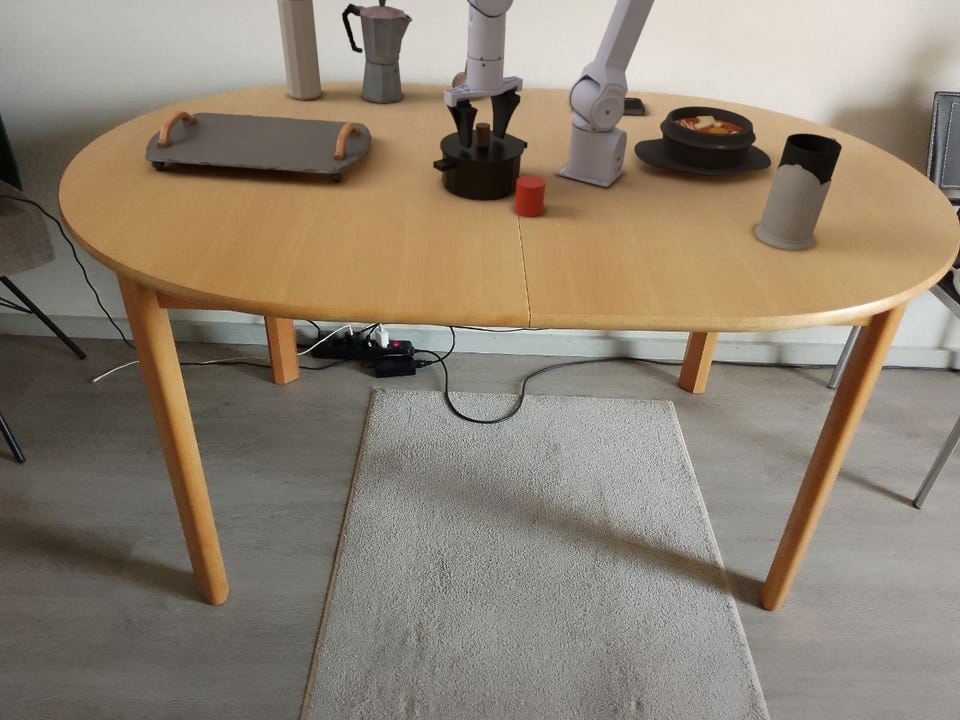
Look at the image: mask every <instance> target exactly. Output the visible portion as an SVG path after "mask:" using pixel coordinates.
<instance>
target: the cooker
mask: <svg viewBox="0 0 960 720" xmlns="http://www.w3.org/2000/svg"><path fill="white" fill-rule="evenodd" d="M517 138H518V139H519V140H521V141H522V142H523V144H524V150H525V149H528V145H529V143H528V141H526V140H523V139H521V138H519V137H517ZM441 152H442V151H441ZM441 154H442V158H441V159H437V160H434V161H432V167H433V168H434V169H435V170H438V171H439V172H441V180H442V185H443V188H444V189H445V190H446V191H448V193H450V194H452V195H454V196H457V197H459V198H463V199H468V200H475V201H492V200H500V199H504V198H507V197H509V196H511V195H514V194H515V193H516V180H517V179H518V178H519V177H521V176H520V175H521V174H520V173H521V163H522V155H521V156H520V157H518V158H517V159H515V160H512V161H509V162H505V163H499V164H473V163H466V162H462V161H458V160H455V159H453V158H450V157H448V156H447V155H445V154H444V153H443V152H442V153H441Z"/></svg>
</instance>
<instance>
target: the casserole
mask: <svg viewBox="0 0 960 720" xmlns="http://www.w3.org/2000/svg"><path fill="white" fill-rule="evenodd" d="M659 129H660V131H661V133H662V137H661V138H655V139H646V140H641V141H638V142H637V143H636V144H635V145H634V148H633V151H634V153H635V155H636V156H637V158H639V159H640V160H641V161H643V162H644V163H645V164H648V166H649V165H650V166H652V167H657V168H662V169H669V170H676V171H680V172H684V173H687V174H691V175H694V176H695V175H696V176H702V177H704V176H705V177H727V176H735V175H739V174H742V173H746V172H752V171H760V170H766V169H768V168H770V167H771V166H772V159H771V158H770V156H769V155H768V154H767V153H766V151H764V150H763V149H761V148H759V147H758V146H756V145H753V144H754V143H755V142H756V140H757V136H756V134H755V132H754V124H753V123H752V120H750V119H749V118H747V117H745V116H744V115H742V114H739V113H737V112H734V111H731V110H727V109H723V108H717V107H711V106H695V105H693V106H682V107H678V108H675V109H672V110H671V111H669V112H668V114H667V116H666V117H665V119H664V120H662V121H661V123H660V125H659Z"/></svg>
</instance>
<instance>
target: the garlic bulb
mask: <svg viewBox="0 0 960 720" xmlns="http://www.w3.org/2000/svg"><path fill="white" fill-rule="evenodd" d="M464 67H465V68H464V71H459V72H458V73H457V74H456V75H455V76H454V77H453V78H452V82H451V87H452V88H451V89H453V88H455V87H457V86H459V85H462V84H464V83H465V79H467V59H466V60H465V66H464Z"/></svg>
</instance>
